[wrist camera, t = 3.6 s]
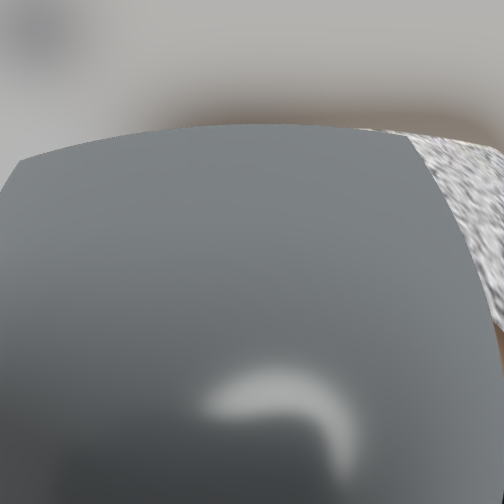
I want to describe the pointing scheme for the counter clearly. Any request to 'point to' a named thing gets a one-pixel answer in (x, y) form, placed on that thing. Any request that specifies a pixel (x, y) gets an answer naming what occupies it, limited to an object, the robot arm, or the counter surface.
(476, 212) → the counter surface
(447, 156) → the counter surface
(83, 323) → the grey tall block
